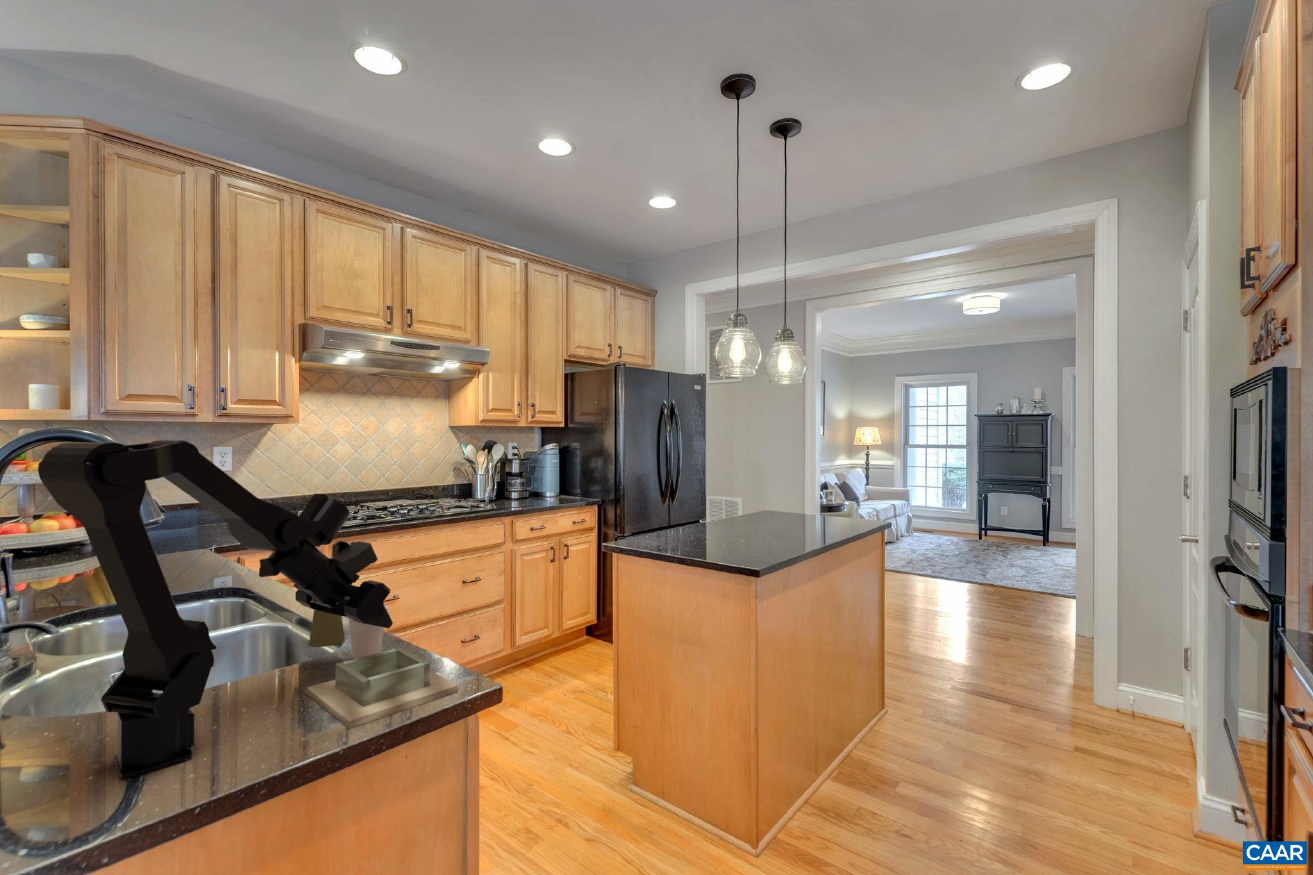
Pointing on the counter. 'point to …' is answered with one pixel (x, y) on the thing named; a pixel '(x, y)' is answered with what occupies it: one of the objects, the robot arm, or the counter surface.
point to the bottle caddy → (379, 687)
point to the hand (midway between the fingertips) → (374, 621)
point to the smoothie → (365, 638)
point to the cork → (326, 629)
